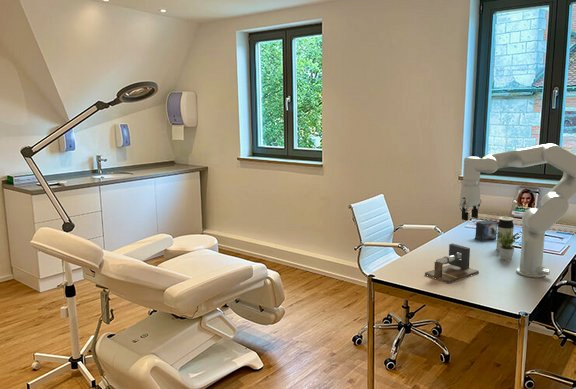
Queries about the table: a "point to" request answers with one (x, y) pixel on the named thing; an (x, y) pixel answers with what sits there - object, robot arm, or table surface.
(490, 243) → the table surface
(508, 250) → the house plant
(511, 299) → the table surface
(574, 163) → the robot arm
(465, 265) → the grey flat upright plate
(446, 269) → the pipe stand
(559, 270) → the table surface
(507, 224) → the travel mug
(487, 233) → the small box
